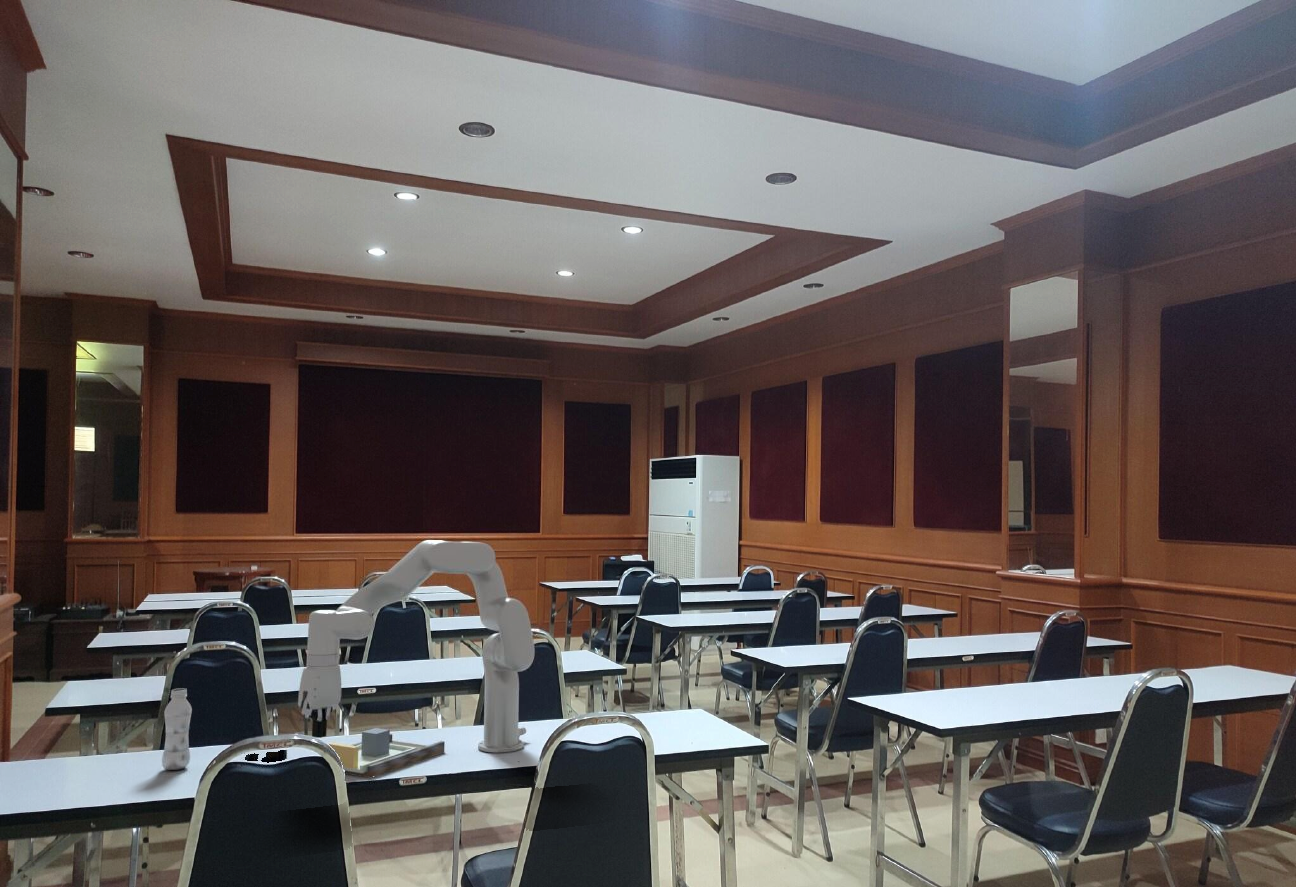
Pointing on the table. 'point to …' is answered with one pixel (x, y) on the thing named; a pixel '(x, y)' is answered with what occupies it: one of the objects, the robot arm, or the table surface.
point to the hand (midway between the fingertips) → (319, 736)
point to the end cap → (269, 756)
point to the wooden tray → (359, 762)
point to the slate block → (375, 742)
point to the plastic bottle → (177, 731)
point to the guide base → (401, 758)
